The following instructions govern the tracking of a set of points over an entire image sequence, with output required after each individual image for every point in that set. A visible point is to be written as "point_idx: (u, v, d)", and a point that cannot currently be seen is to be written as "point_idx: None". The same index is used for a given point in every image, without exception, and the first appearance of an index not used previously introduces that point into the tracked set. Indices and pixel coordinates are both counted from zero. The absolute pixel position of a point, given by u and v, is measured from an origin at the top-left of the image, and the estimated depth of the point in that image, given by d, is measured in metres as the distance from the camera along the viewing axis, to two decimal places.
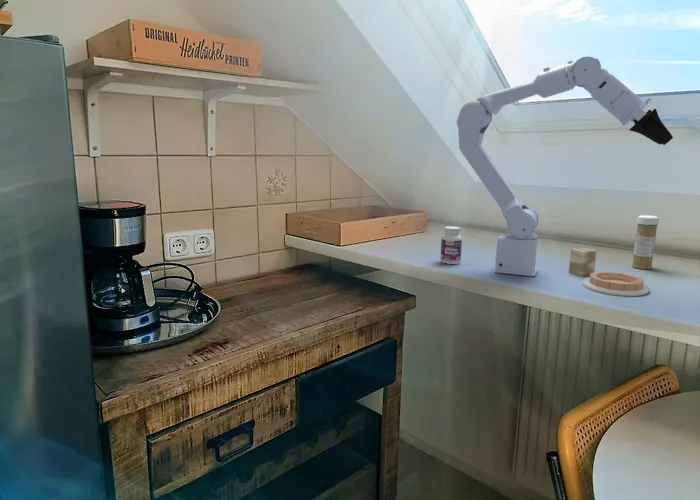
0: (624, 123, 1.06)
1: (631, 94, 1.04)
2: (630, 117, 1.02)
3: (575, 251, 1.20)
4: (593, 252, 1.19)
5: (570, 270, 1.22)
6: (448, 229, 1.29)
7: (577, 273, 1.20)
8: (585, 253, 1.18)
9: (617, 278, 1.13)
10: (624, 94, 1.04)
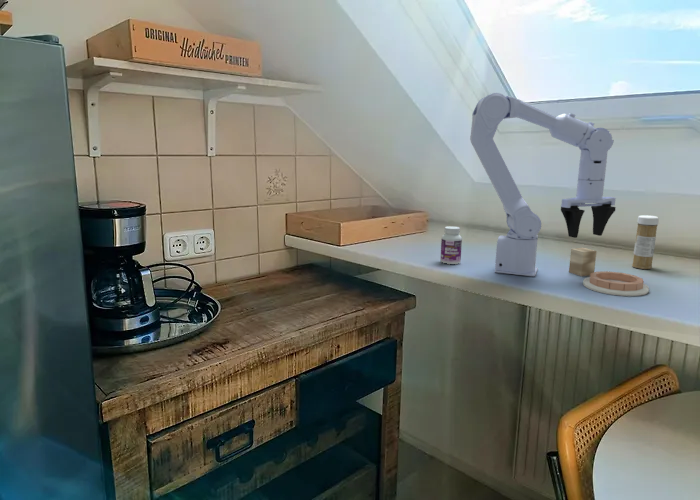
0: None
1: (591, 186, 1.14)
2: None
3: (575, 251, 1.20)
4: (593, 252, 1.19)
5: (570, 270, 1.22)
6: (448, 229, 1.29)
7: (577, 273, 1.20)
8: (585, 253, 1.18)
9: (617, 278, 1.13)
10: (586, 182, 1.14)
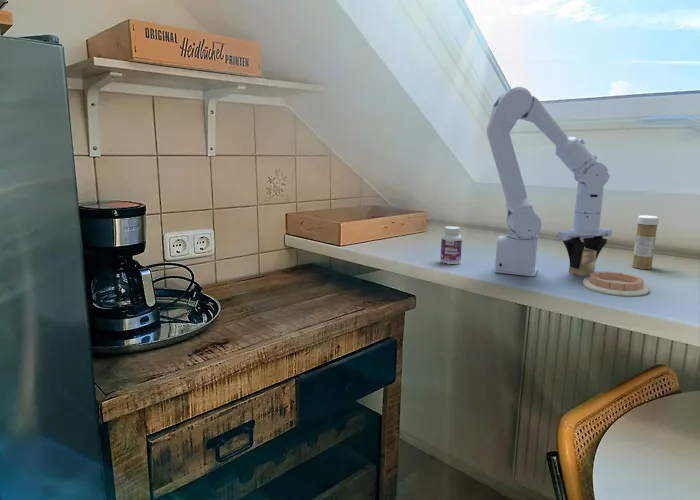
0: None
1: (588, 219, 1.16)
2: None
3: None
4: (593, 252, 1.19)
5: (570, 270, 1.22)
6: (448, 229, 1.29)
7: (577, 273, 1.20)
8: (585, 253, 1.18)
9: (617, 278, 1.13)
10: (583, 215, 1.16)
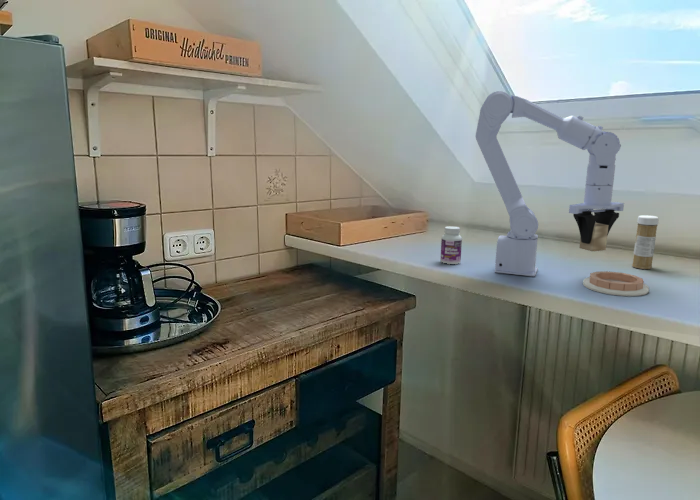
0: None
1: (600, 192, 1.11)
2: None
3: None
4: (605, 226, 1.14)
5: (581, 246, 1.18)
6: (448, 229, 1.29)
7: (588, 248, 1.15)
8: (597, 227, 1.13)
9: (617, 278, 1.13)
10: (595, 187, 1.12)
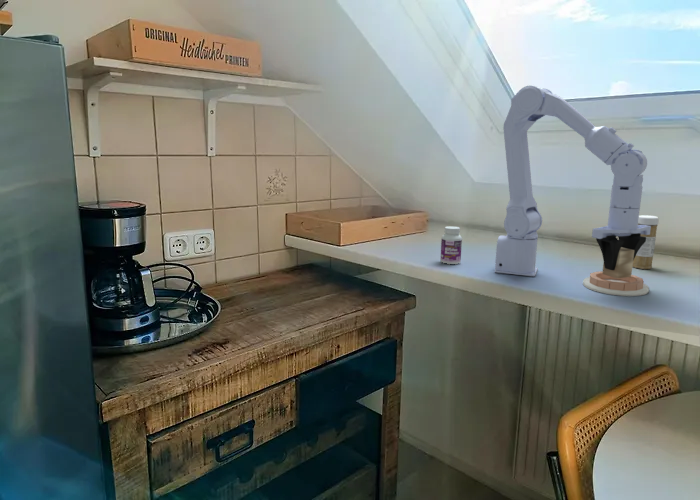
0: None
1: (626, 215, 1.03)
2: None
3: None
4: (631, 251, 1.06)
5: (604, 271, 1.10)
6: (448, 229, 1.29)
7: (612, 275, 1.07)
8: (622, 252, 1.05)
9: (617, 278, 1.13)
10: (620, 210, 1.04)
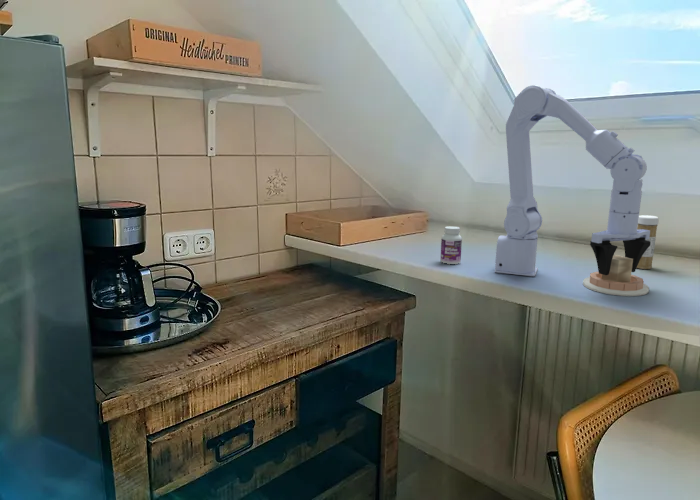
0: None
1: (625, 220, 1.04)
2: None
3: None
4: (629, 260, 1.07)
5: None
6: (448, 229, 1.29)
7: None
8: (621, 261, 1.06)
9: None
10: (620, 215, 1.04)
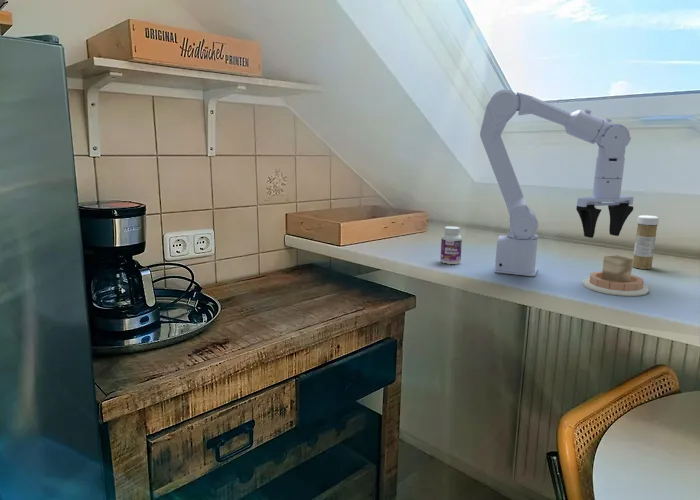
0: None
1: (608, 185, 1.10)
2: None
3: (609, 259, 1.08)
4: (629, 260, 1.07)
5: None
6: (448, 229, 1.29)
7: None
8: (621, 261, 1.06)
9: None
10: (604, 180, 1.11)
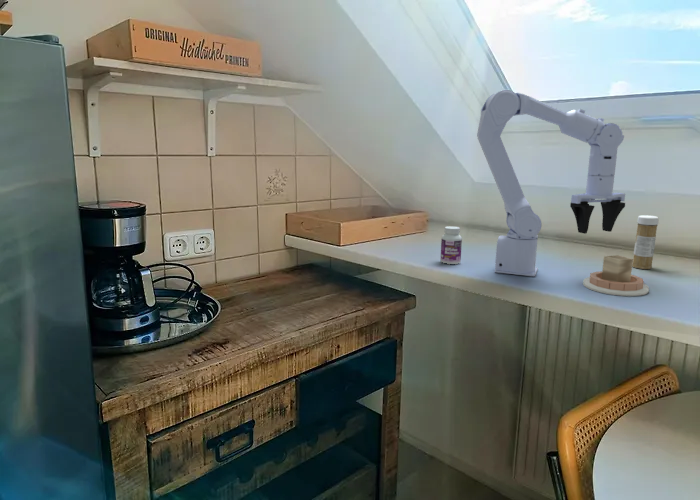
0: None
1: (601, 182, 1.14)
2: None
3: (609, 259, 1.08)
4: (629, 260, 1.07)
5: None
6: (448, 229, 1.29)
7: None
8: (621, 261, 1.06)
9: None
10: (596, 177, 1.14)
